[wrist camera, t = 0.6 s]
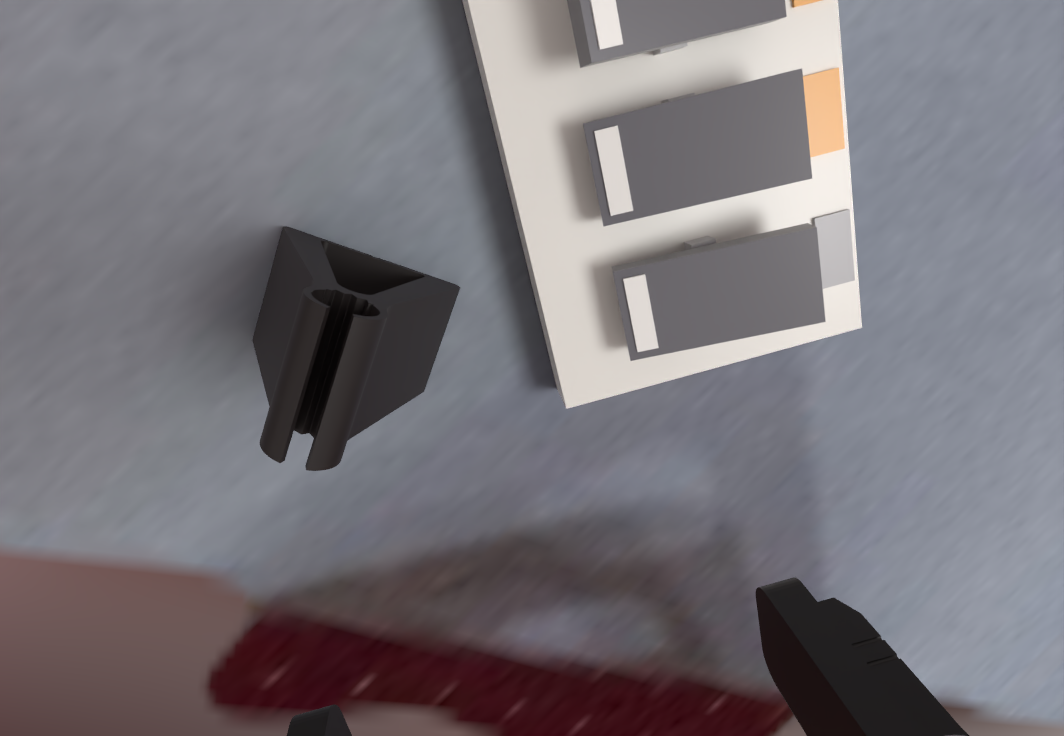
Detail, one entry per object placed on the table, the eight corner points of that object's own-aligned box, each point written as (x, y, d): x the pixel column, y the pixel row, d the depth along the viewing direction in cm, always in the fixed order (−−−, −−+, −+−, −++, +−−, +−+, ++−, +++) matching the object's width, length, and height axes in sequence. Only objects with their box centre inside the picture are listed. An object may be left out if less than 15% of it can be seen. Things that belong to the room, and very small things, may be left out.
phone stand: (253, 336, 34) (159, 430, 23) (285, 224, 32) (201, 265, 21) (423, 389, 36) (415, 500, 25) (460, 286, 34) (469, 353, 23)
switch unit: (447, -60, 30) (448, -90, 26) (789, -142, 30) (838, -184, 26) (557, 388, 37) (570, 416, 33) (830, 314, 38) (873, 332, 34)
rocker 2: (582, 123, 29) (582, 124, 28) (792, 70, 28) (802, 68, 27) (602, 222, 31) (603, 226, 29) (803, 176, 29) (813, 178, 28)
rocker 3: (611, 266, 31) (612, 272, 30) (807, 222, 30) (817, 227, 29) (628, 352, 33) (630, 361, 32) (816, 314, 32) (826, 322, 30)
